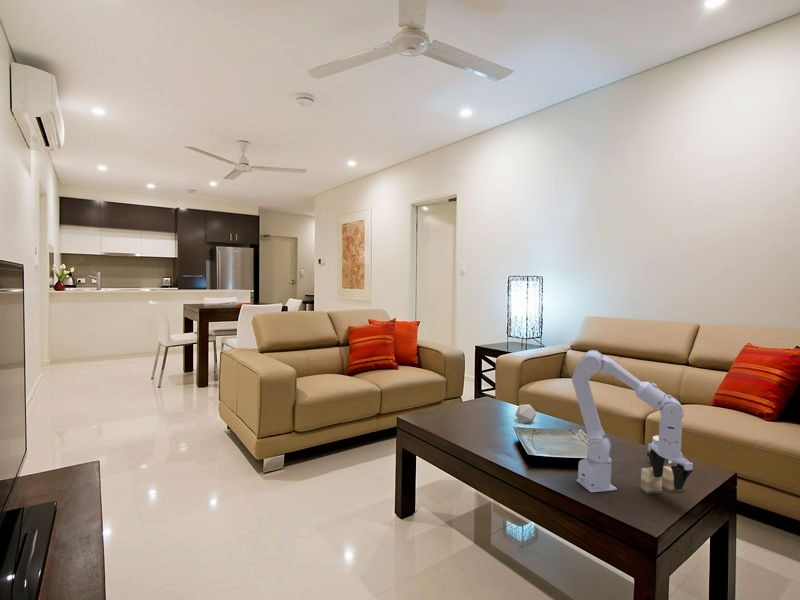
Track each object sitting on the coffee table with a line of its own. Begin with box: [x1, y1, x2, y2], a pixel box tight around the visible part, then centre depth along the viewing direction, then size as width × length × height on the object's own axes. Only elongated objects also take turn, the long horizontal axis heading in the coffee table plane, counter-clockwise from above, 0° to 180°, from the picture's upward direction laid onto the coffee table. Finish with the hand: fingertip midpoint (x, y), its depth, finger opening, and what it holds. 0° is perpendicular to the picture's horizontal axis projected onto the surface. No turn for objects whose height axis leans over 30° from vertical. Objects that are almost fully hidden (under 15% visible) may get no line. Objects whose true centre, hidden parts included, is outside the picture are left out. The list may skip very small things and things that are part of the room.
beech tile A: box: [640, 467, 663, 495], centre depth 132 cm, size 5×3×7 cm, turn 100°
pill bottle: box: [649, 435, 669, 466], centre depth 150 cm, size 6×6×10 cm
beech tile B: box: [662, 464, 684, 493], centre depth 133 cm, size 5×3×7 cm, turn 100°
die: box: [514, 403, 538, 424], centre depth 195 cm, size 8×9×10 cm
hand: (668, 482), depth 125 cm, fingers open, 7 cm apart
